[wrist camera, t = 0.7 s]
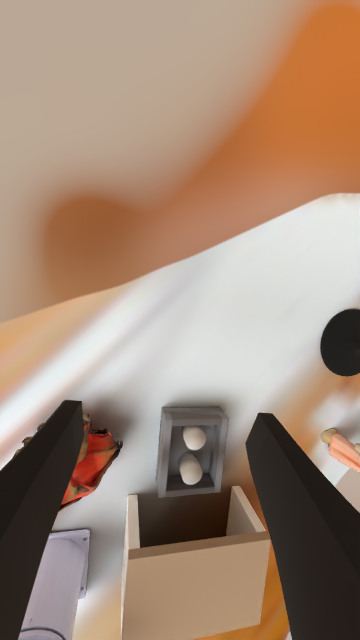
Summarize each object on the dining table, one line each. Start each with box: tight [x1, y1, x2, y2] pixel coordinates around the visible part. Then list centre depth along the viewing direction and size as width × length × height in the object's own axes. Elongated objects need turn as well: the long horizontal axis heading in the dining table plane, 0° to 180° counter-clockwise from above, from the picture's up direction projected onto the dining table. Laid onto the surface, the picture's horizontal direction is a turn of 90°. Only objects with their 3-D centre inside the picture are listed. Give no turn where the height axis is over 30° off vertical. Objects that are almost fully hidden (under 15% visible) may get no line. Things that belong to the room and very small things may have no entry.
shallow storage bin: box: [121, 486, 271, 640], centre depth 30 cm, size 11×16×8 cm
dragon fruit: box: [14, 414, 123, 512], centre depth 26 cm, size 8×8×12 cm
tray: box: [156, 407, 229, 498], centre depth 32 cm, size 10×8×4 cm
